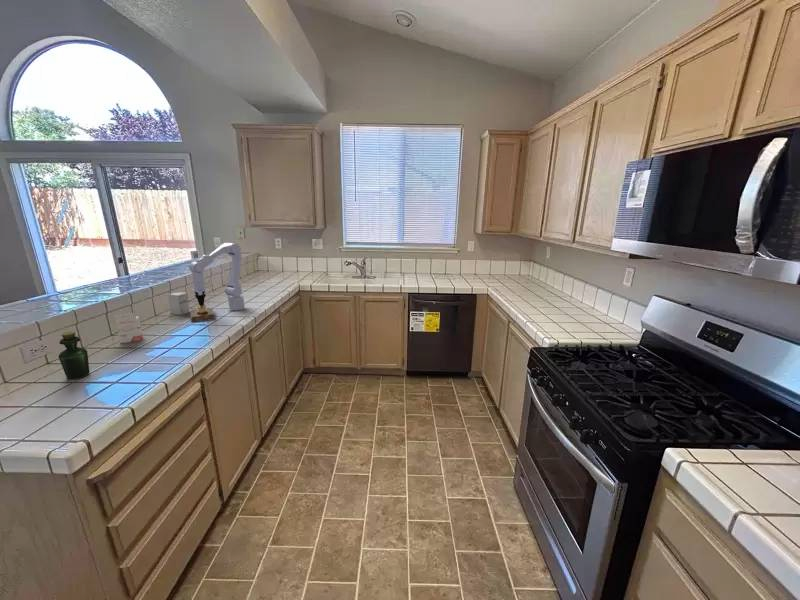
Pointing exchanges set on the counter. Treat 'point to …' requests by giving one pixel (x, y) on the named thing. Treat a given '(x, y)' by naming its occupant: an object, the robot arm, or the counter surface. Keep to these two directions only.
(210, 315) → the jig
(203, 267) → the robot arm
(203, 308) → the brass cylinder
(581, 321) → the counter surface
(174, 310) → the supplement box
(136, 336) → the ink cartridge box
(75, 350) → the potion bottle
